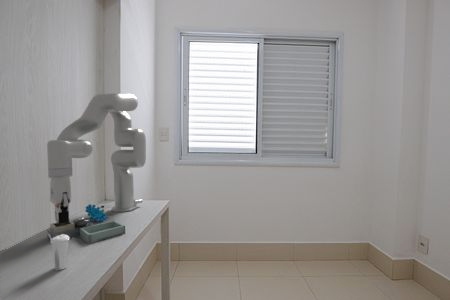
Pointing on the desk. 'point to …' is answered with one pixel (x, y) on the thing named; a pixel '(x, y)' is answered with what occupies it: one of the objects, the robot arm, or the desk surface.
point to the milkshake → (60, 251)
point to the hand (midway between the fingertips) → (62, 220)
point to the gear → (95, 213)
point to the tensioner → (69, 228)
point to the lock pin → (57, 215)
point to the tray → (102, 231)
